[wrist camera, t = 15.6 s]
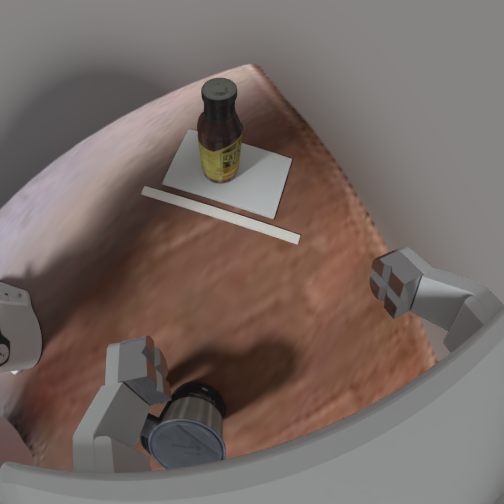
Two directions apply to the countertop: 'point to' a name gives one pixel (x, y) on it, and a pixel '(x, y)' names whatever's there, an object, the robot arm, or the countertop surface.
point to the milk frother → (187, 428)
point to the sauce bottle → (219, 131)
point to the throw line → (221, 214)
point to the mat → (241, 186)
